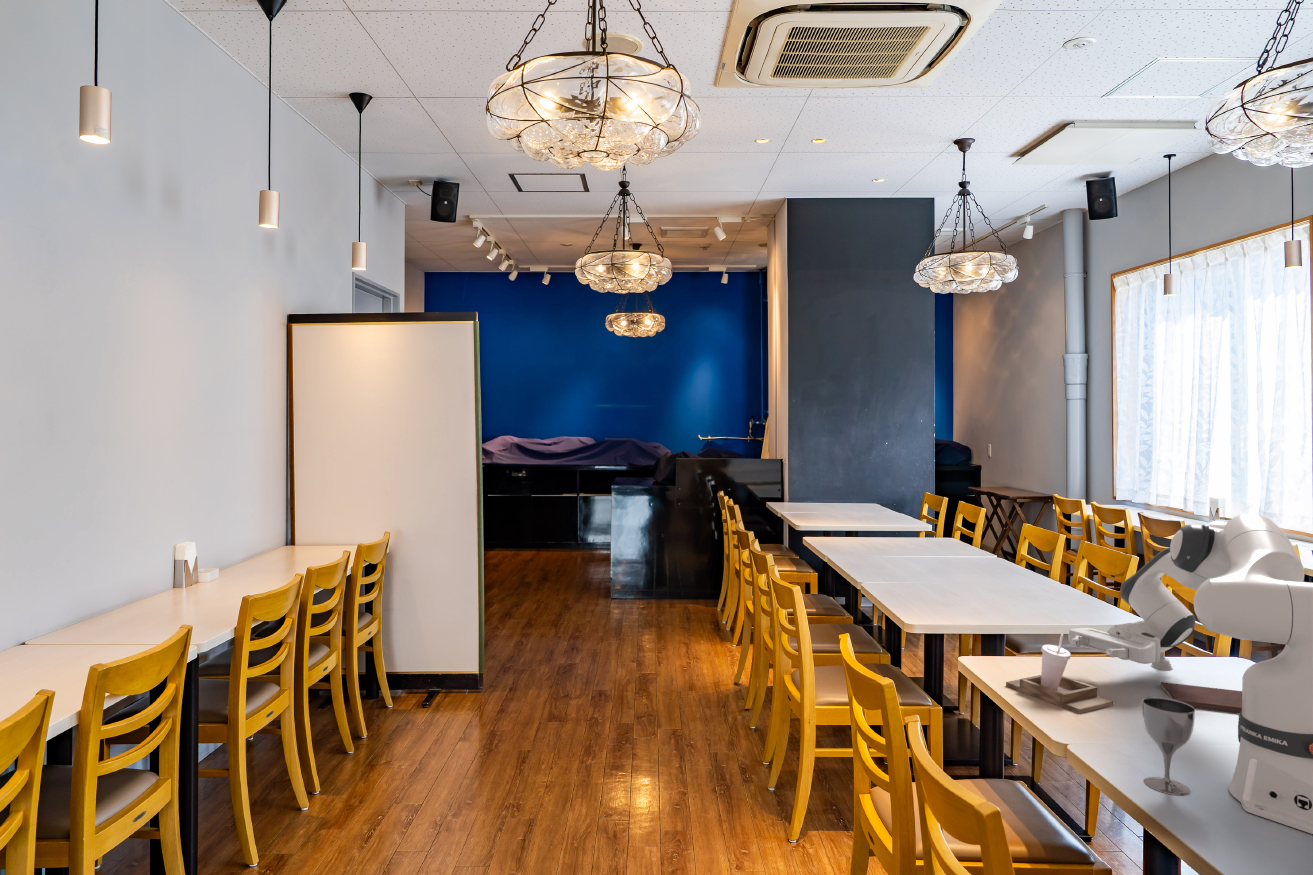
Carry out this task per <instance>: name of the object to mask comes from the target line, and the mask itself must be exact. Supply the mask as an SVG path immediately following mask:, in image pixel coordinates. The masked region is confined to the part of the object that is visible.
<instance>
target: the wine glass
mask: <svg viewBox="0 0 1313 875" xmlns="http://www.w3.org/2000/svg"><path fill="white" fill-rule="evenodd" d="M1141 708H1142V719H1143V723H1144V724H1143V725H1144V727H1145V730H1146V732H1147V734H1148V736H1149V737H1150V738H1151V740H1152V741H1153V742H1154V743H1155V744H1156V745H1157V747H1158V748H1159V749H1160V752H1161V754H1162V757H1163V764H1164V765H1163V766H1164V772H1163V774H1164V776H1162V777H1161V776H1148V777H1145V778H1144V779H1143V783H1144V784H1145V785H1146V786H1147V787H1148V788H1151V789H1152V790H1154V791H1157V792H1159V793H1163V794H1166V795H1171V796H1187V795H1190V794H1191V789H1190V787H1188V786H1187V785H1185V784H1184V783H1182V782H1180V781H1177V780H1175V779H1172V778H1170V774H1171V773H1170V771H1171V762H1172V757H1173V755H1174V754H1175V753H1176V751H1177V750H1179V749H1180V748H1182V747H1183V746H1185V744H1188V742H1189V741H1190V739H1191V738H1192V734H1193V732H1194V731H1193V730H1194V727H1195V719H1196V715H1195V714H1196V710H1195V709H1196V708H1194V707H1193V706H1191V705H1189V704H1187V703H1185V702H1182V701H1178V700H1175V699H1171V698H1170V697H1169V698H1168V697H1162V696H1148V697H1143V699H1142V707H1141Z"/></svg>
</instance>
